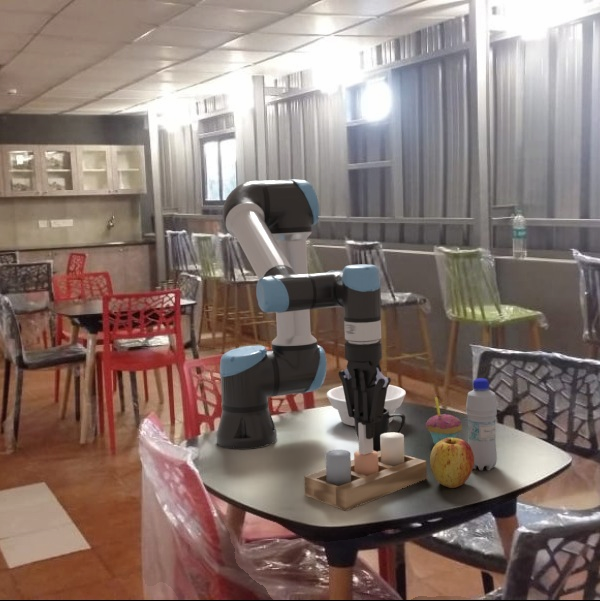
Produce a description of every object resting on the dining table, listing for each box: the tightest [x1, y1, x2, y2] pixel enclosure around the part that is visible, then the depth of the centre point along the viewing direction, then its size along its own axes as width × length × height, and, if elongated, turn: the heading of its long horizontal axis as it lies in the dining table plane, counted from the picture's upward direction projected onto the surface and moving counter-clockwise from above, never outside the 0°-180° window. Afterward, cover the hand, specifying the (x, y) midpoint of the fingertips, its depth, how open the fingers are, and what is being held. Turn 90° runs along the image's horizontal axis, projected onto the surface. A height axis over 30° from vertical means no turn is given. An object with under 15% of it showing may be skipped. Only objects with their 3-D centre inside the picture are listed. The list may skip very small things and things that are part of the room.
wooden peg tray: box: [303, 451, 428, 511], centre depth 171 cm, size 12×24×4 cm, turn 131°
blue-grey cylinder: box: [325, 449, 352, 486], centre depth 166 cm, size 5×5×6 cm
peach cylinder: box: [353, 450, 379, 476], centre depth 171 cm, size 5×5×6 cm
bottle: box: [465, 377, 498, 471], centre depth 180 cm, size 7×7×20 cm
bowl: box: [326, 384, 407, 427], centre depth 219 cm, size 21×21×8 cm
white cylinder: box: [380, 431, 405, 466], centre depth 176 cm, size 5×5×6 cm
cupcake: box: [425, 394, 463, 445], centre depth 198 cm, size 9×8×12 cm
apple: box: [429, 437, 474, 489], centre depth 171 cm, size 9×9×10 cm
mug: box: [354, 408, 406, 452], centre depth 195 cm, size 8×12×10 cm
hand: (366, 452), depth 171 cm, fingers closed
